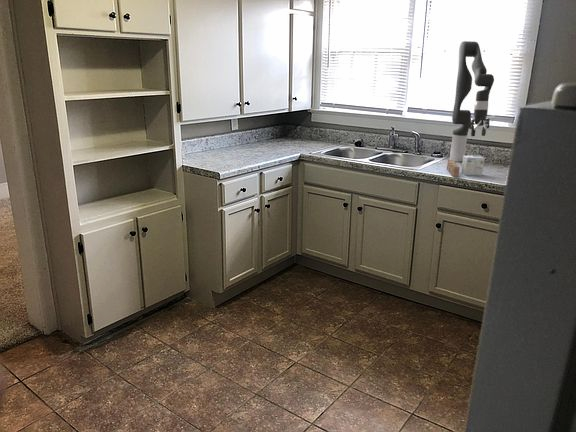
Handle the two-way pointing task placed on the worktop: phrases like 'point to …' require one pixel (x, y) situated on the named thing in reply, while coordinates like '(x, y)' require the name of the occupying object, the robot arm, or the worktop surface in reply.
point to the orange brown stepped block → (453, 168)
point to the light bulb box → (472, 165)
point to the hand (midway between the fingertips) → (478, 136)
